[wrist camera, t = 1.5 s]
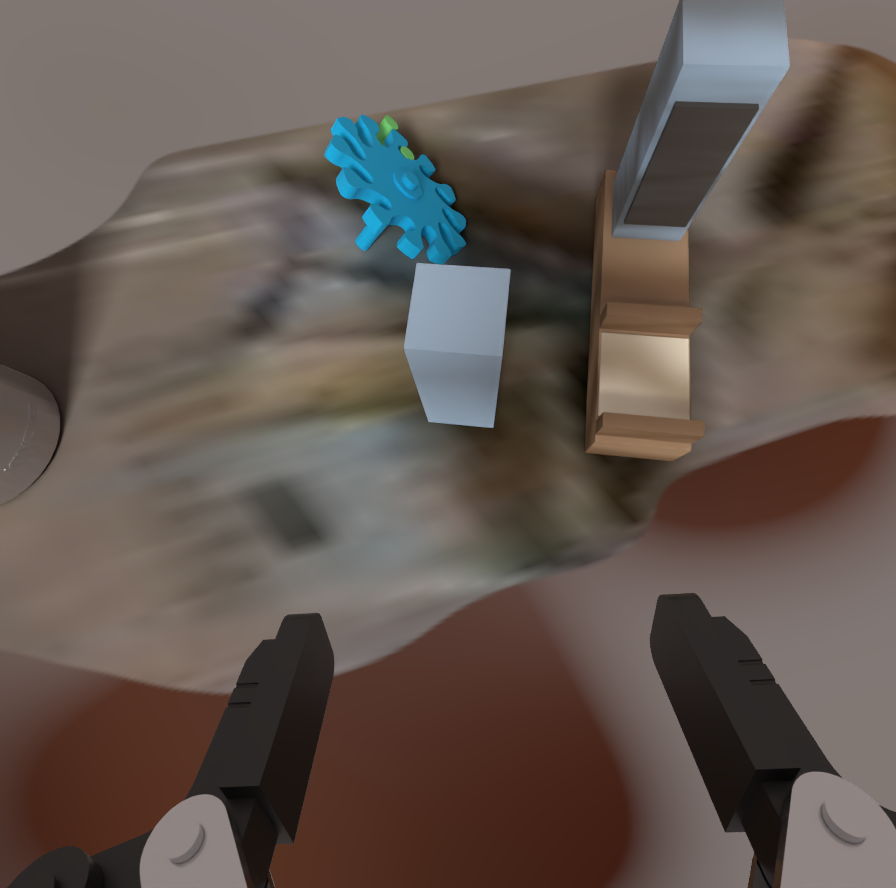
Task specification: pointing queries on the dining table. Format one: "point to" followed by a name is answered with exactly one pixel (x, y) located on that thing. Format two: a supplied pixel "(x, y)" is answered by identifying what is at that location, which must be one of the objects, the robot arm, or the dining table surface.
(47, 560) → the dining table surface
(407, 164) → the gear
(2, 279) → the dining table surface
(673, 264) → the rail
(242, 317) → the dining table surface
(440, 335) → the light grey block
